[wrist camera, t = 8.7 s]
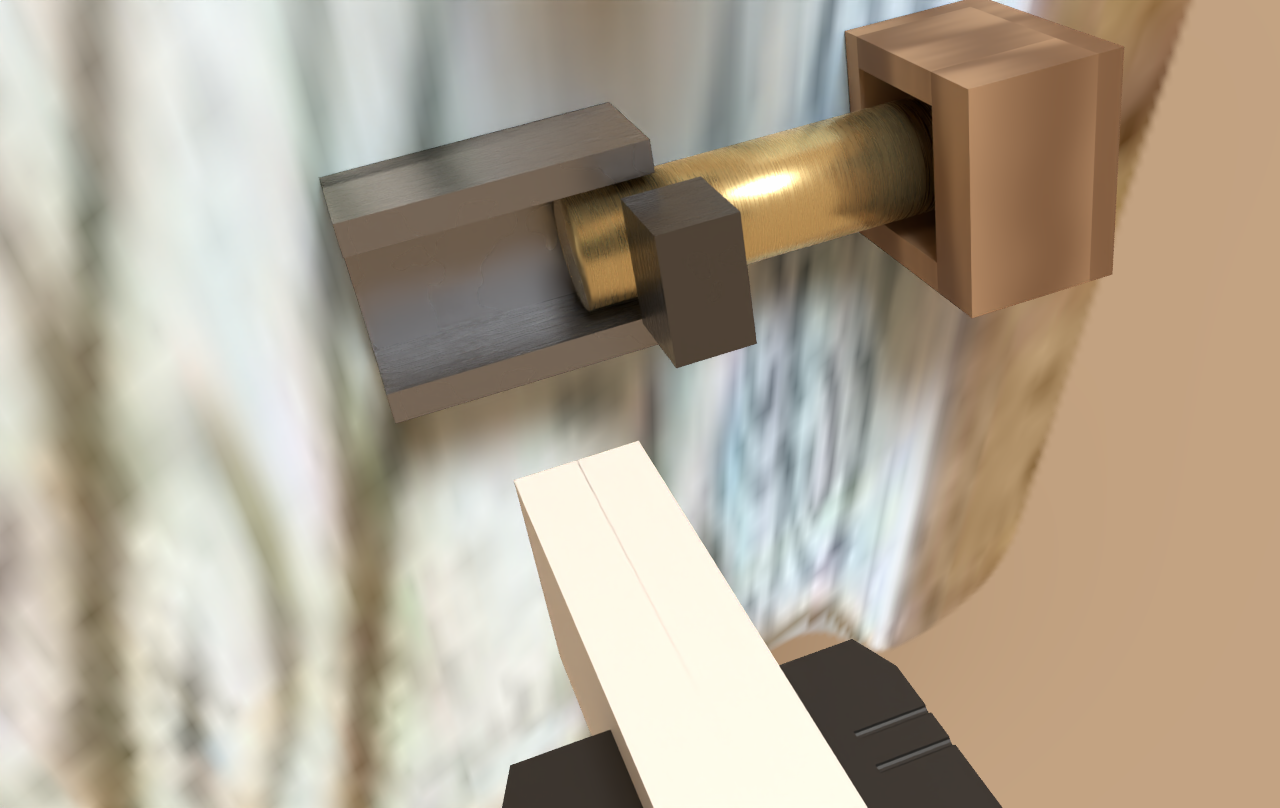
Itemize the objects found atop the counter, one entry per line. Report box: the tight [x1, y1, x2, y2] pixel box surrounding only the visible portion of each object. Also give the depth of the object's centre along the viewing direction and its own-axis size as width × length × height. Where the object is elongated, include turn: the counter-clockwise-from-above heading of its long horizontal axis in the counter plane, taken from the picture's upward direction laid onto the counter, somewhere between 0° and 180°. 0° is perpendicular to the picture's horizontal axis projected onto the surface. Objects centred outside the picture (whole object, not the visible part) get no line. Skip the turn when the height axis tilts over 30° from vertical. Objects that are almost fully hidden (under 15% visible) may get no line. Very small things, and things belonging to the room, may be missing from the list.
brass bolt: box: [554, 96, 935, 368], centre depth 36 cm, size 13×4×7 cm, turn 99°
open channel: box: [320, 102, 658, 423], centre depth 37 cm, size 9×6×4 cm
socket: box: [845, 0, 1124, 318], centre depth 38 cm, size 5×7×7 cm
